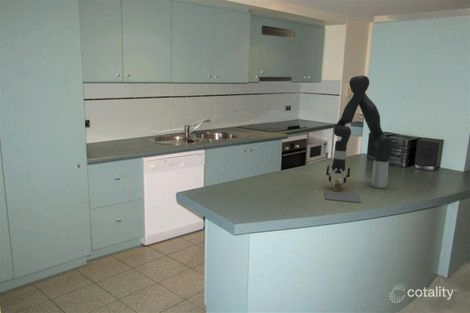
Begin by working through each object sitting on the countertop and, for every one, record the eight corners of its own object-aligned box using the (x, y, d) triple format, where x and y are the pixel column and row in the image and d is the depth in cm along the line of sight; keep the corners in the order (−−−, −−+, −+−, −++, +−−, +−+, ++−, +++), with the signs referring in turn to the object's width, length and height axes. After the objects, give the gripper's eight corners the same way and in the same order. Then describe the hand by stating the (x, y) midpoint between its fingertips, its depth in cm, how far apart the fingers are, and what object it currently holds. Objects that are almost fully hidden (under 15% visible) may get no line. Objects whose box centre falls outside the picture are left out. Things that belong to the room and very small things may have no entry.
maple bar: (340, 186, 261) (341, 178, 260) (341, 191, 250) (342, 183, 249) (333, 185, 262) (333, 178, 261) (334, 191, 250) (334, 183, 249)
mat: (358, 195, 243) (358, 194, 243) (361, 203, 229) (361, 202, 229) (324, 192, 247) (324, 191, 247) (325, 199, 233) (325, 198, 233)
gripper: (351, 157, 254) (348, 182, 257) (327, 155, 257) (325, 179, 260) (351, 159, 247) (348, 185, 250) (327, 157, 250) (325, 182, 253)
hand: (336, 182), depth 255 cm, fingers open, 8 cm apart
